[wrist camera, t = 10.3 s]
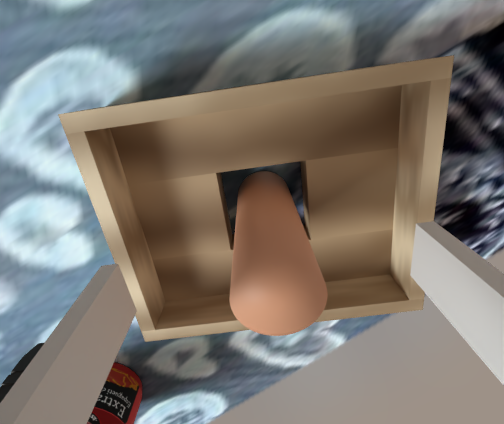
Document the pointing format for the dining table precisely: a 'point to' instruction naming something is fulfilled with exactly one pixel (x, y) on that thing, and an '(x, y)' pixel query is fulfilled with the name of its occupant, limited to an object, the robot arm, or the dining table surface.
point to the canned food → (118, 398)
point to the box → (258, 155)
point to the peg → (273, 261)
